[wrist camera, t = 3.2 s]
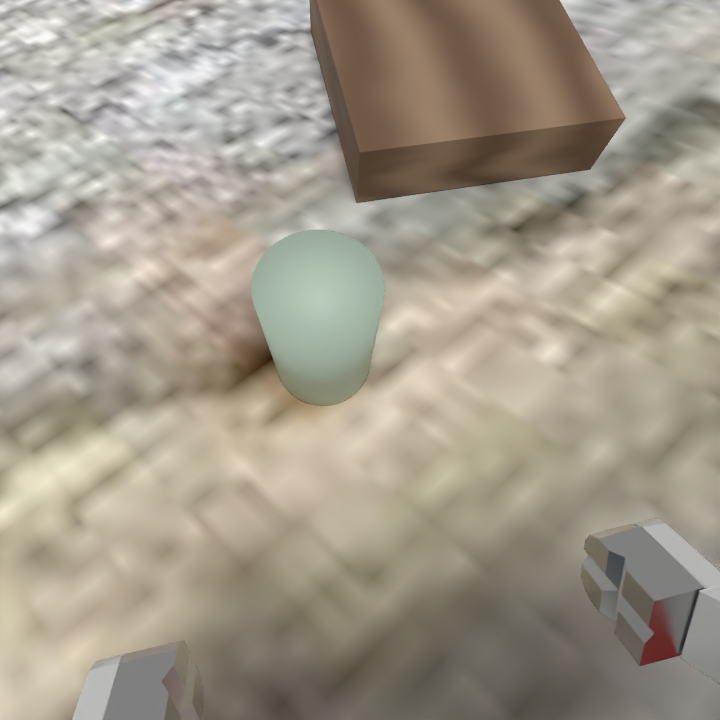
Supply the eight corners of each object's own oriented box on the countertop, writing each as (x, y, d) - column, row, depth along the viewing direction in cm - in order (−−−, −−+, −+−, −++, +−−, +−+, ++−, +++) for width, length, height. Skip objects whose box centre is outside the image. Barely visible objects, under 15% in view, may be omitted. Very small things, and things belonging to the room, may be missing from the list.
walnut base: (511, 12, 36) (532, -49, 32) (590, 169, 30) (625, 117, 27) (311, 31, 34) (308, -31, 30) (356, 202, 28) (359, 152, 25)
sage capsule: (358, 312, 26) (368, 221, 18) (378, 395, 24) (398, 333, 17) (270, 327, 25) (243, 240, 18) (285, 414, 23) (261, 358, 16)
